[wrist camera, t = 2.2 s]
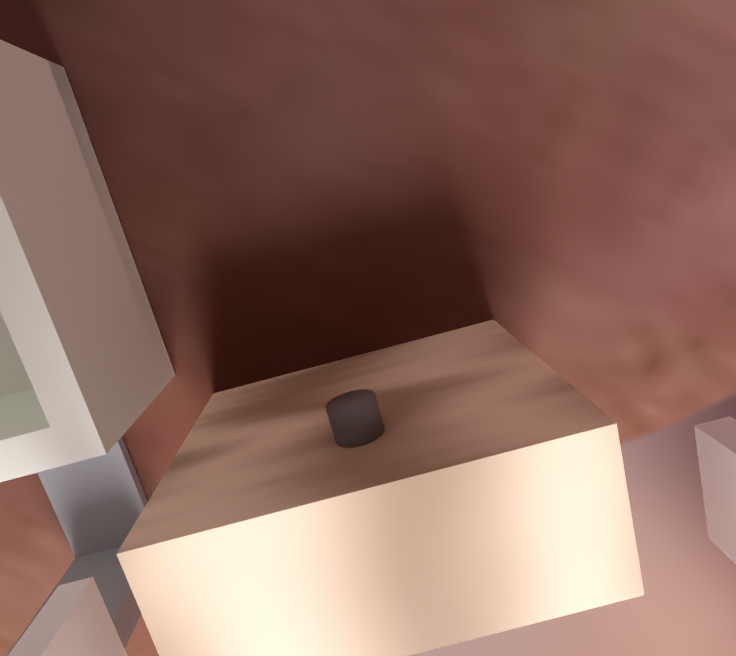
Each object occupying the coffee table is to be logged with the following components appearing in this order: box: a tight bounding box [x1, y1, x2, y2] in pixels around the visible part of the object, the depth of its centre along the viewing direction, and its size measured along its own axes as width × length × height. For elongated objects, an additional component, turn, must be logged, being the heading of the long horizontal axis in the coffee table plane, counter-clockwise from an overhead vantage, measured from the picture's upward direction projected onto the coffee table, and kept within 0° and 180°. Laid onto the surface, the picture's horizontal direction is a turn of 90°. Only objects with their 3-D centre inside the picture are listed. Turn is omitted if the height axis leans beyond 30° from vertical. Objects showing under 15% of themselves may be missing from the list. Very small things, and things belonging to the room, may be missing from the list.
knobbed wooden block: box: [116, 320, 644, 656], centre depth 16 cm, size 10×5×9 cm, turn 104°
